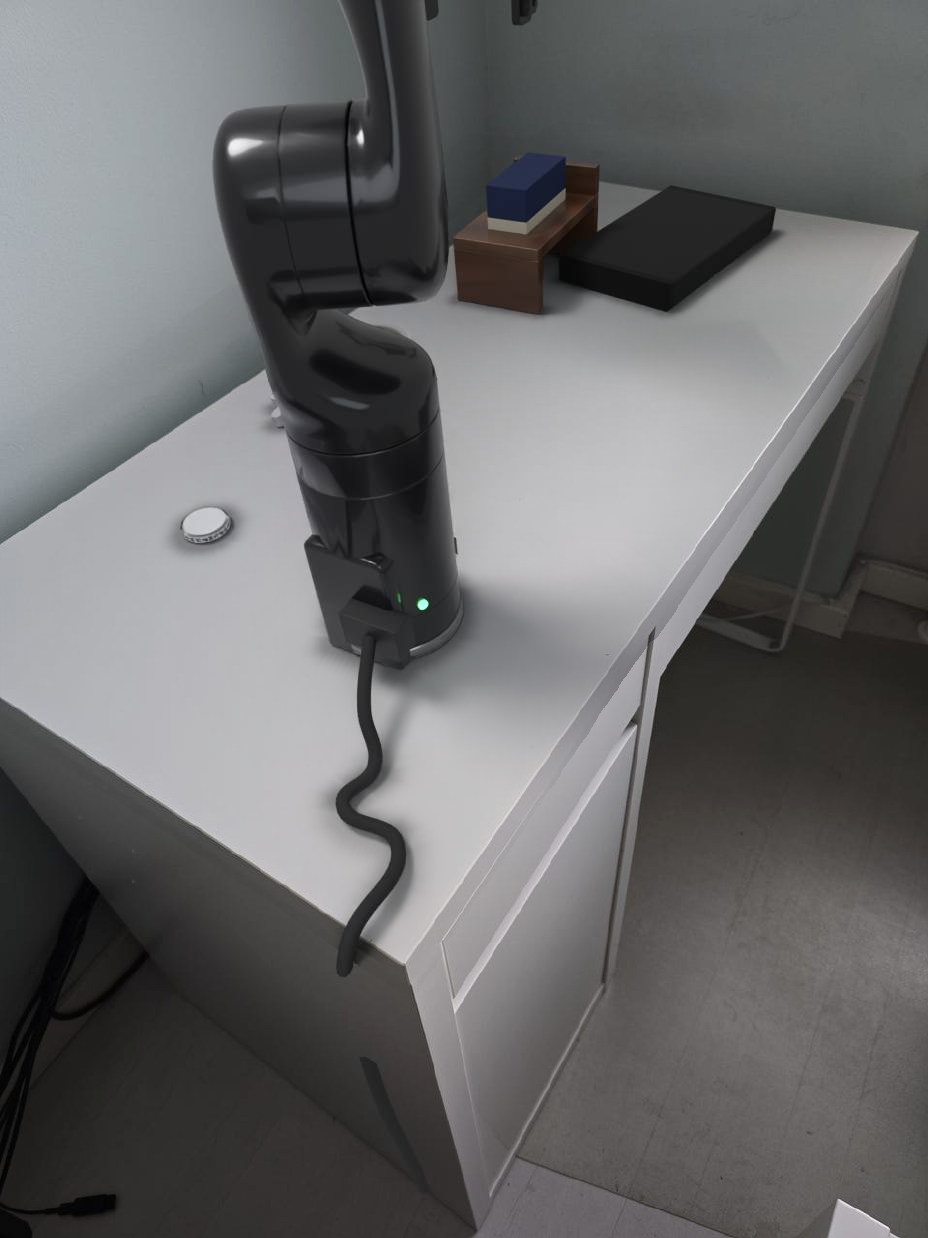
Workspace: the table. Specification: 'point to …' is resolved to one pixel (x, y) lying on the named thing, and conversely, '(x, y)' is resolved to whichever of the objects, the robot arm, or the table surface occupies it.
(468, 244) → the shelf
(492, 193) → the whiteboard eraser
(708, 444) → the table surface
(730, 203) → the external hard drive
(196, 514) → the white bottle cap
